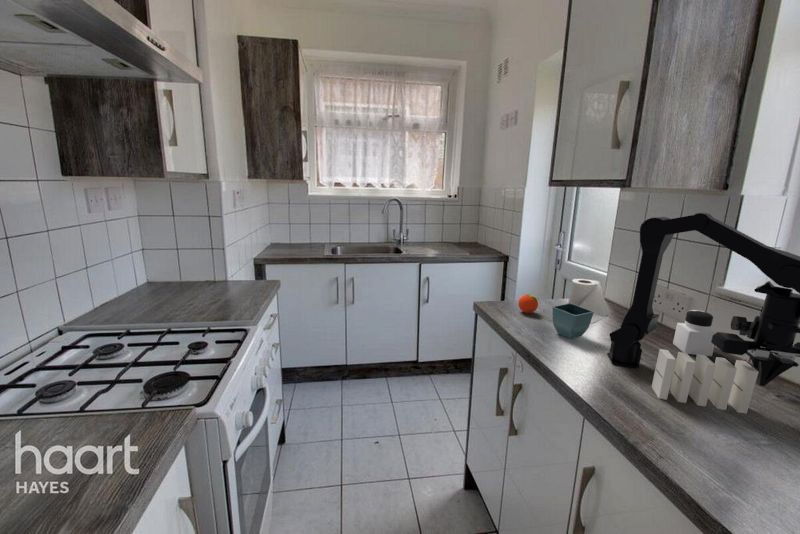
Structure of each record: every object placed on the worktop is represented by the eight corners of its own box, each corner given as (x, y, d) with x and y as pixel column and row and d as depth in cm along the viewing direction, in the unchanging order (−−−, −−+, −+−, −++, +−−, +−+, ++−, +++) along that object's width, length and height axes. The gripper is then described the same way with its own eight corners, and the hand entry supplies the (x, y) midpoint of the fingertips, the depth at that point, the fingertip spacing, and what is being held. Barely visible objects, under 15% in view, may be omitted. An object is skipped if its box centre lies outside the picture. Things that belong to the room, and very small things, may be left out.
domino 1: (658, 398, 84) (667, 358, 82) (651, 387, 89) (659, 348, 86) (666, 399, 84) (675, 359, 81) (659, 388, 88) (667, 350, 86)
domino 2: (677, 401, 83) (686, 361, 81) (669, 390, 88) (677, 351, 85) (686, 403, 83) (695, 362, 80) (677, 391, 87) (686, 352, 85)
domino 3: (697, 405, 82) (707, 364, 80) (687, 393, 87) (696, 354, 84) (705, 406, 81) (716, 365, 79) (695, 394, 86) (705, 355, 84)
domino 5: (737, 412, 80) (749, 370, 77) (725, 399, 84) (736, 359, 82) (746, 413, 79) (758, 371, 77) (734, 401, 84) (745, 361, 82)
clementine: (542, 313, 137) (544, 294, 136) (536, 318, 132) (538, 299, 130) (521, 308, 142) (523, 290, 140) (514, 312, 137) (516, 294, 135)
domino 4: (716, 408, 81) (727, 367, 79) (706, 396, 86) (716, 356, 83) (725, 410, 80) (737, 368, 78) (714, 397, 85) (724, 358, 83)
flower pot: (571, 343, 112) (575, 315, 110) (548, 332, 120) (551, 306, 118) (590, 338, 116) (594, 311, 114) (566, 328, 124) (570, 302, 122)
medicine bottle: (712, 357, 106) (722, 317, 103) (684, 354, 107) (693, 315, 104) (698, 346, 113) (707, 309, 110) (672, 343, 114) (680, 307, 111)
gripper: (809, 310, 81) (789, 375, 84) (707, 300, 86) (693, 360, 90) (851, 329, 70) (826, 401, 74) (733, 316, 76) (715, 384, 79)
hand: (760, 385), depth 80 cm, fingers closed
